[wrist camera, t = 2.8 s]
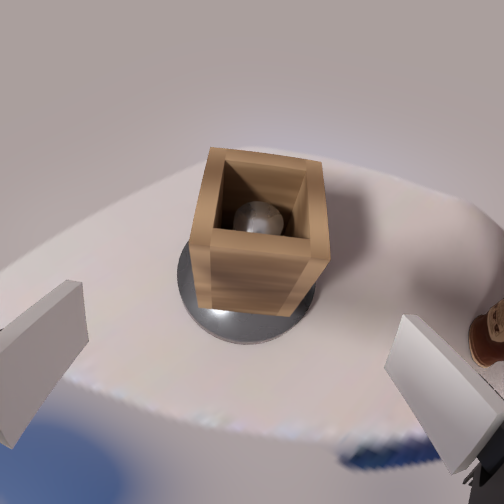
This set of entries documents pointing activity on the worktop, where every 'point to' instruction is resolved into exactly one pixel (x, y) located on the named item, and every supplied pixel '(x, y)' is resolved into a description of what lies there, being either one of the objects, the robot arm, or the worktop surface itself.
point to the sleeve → (256, 244)
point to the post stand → (236, 323)
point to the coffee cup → (488, 336)
